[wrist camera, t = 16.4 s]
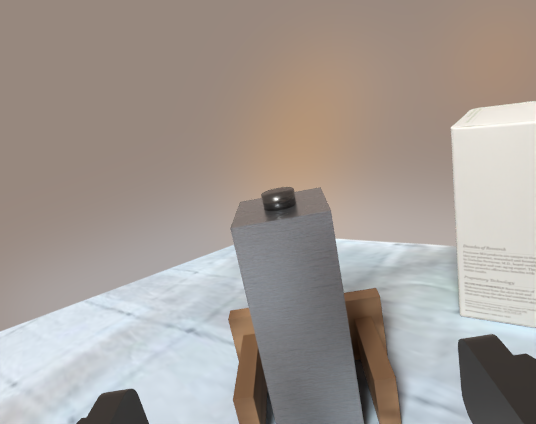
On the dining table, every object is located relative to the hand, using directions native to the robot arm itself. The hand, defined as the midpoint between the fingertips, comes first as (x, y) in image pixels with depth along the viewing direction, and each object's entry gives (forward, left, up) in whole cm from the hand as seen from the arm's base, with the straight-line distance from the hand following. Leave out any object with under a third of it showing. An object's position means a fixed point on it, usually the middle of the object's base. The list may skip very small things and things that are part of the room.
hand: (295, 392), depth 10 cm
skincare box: (-17, -22, -13) cm, 31 cm away
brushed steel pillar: (0, -13, -13) cm, 18 cm away
